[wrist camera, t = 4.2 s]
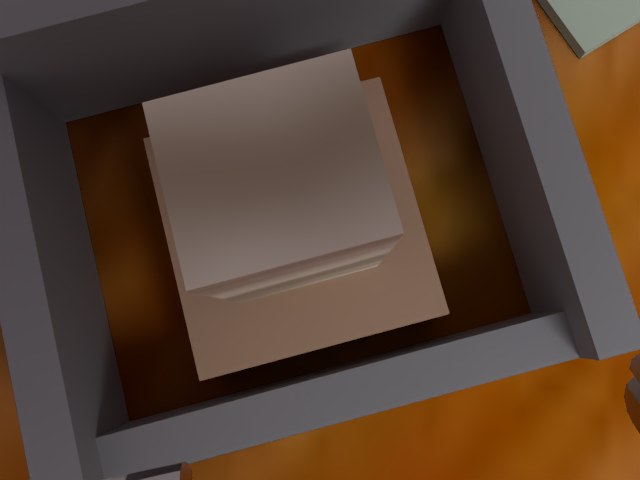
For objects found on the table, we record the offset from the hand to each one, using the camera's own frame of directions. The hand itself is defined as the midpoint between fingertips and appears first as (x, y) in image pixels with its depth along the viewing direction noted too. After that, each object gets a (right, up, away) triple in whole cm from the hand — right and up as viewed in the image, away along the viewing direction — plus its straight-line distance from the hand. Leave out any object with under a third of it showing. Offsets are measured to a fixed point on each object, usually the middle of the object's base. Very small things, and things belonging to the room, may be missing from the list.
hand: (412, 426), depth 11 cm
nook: (-3, +3, +14) cm, 14 cm away
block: (-3, +4, +11) cm, 12 cm away
